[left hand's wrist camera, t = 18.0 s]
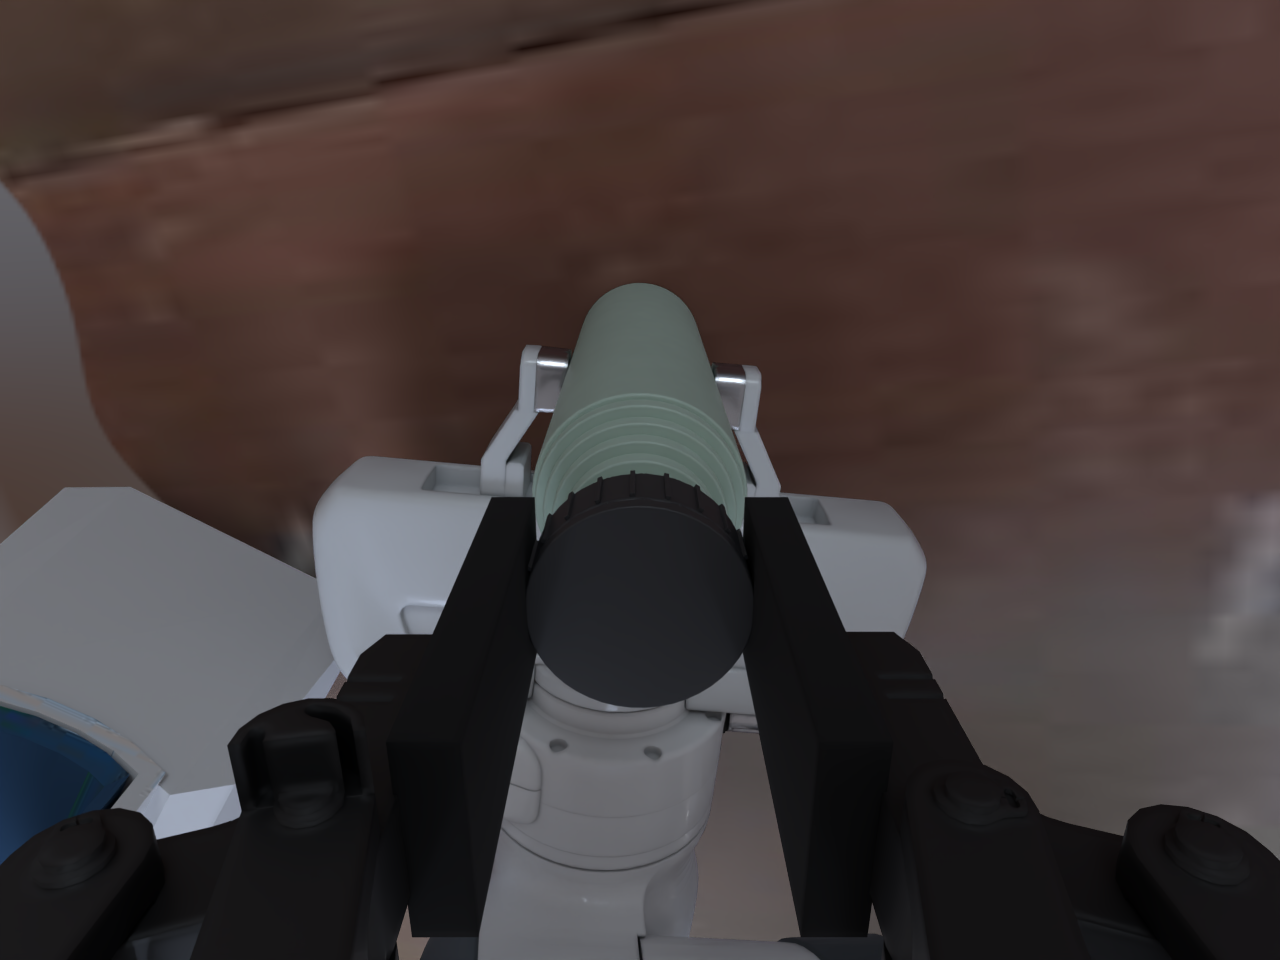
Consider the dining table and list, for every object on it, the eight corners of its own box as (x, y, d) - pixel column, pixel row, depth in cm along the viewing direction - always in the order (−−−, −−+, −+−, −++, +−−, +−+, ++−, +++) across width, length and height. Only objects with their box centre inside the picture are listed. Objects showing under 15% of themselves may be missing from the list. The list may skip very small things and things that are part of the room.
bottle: (718, 368, 33) (822, 651, 14) (613, 419, 34) (581, 749, 15) (667, 261, 32) (707, 418, 13) (559, 316, 32) (447, 540, 14)
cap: (696, 432, 14) (702, 464, 13) (780, 615, 15) (795, 661, 14) (493, 521, 15) (478, 560, 13) (590, 689, 16) (586, 742, 14)
